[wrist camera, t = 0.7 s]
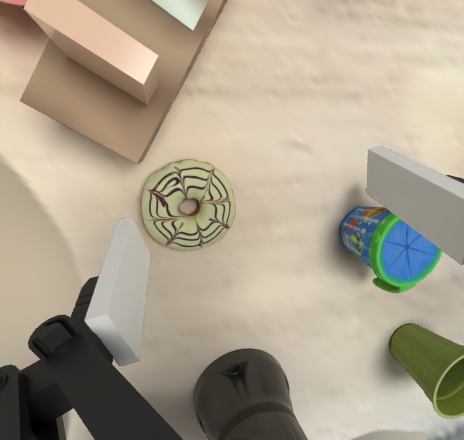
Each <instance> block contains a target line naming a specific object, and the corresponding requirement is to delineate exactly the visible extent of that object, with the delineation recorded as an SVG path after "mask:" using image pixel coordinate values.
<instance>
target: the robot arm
mask: <svg viewBox="0 0 464 440" xmlns="http://www.w3.org/2000/svg"><path fill="white" fill-rule="evenodd" d="M366 194H368V195H369V196H370V197H372V198H373V199H374V200H376V201H377V202H378V203H380V204H381V205H382V206H384V207H385V208H386V209H388V210H389V211H390V212H392V213H393V214H394V215H396V216H397V217H398V218H400V219H401V220H402V221H404V222H405V223H406V224H408V225H409V226H410V227H412V228H413V229H414V230H416V231H417V232H418V233H420V234H421V235H422V236H424V237H425V238H426V239H427V240H429V241H430V242H431V243H433V244H434V245H435V246H437V247H438V248H439V249H441V250H442V251H443V252H445V253H446V254H447V255H449V256H450V257H451V258H453V259H454V260H455V261H457V262H458V263H459V264H461V265H463V264H464V179H462V178H459V177H454V176H450V175H444V174H441V173H439V172H437V171H435V170H433V169H431V168H429V167H427V166H424V165H422V164H420V163H418V162H416V161H414V160H412V159H409V158H407V157H405V156H403V155H401V154H399V153H397V152H394V151H392V150H390V149H388V148H386V147H384V146H382V145H381V146H378V147H374V148H370V149H368V163H367V192H366ZM150 260H151V254H150V252H149V250H148V248H147V246H146V244H145V242H144V240H143V238H142V236H141V234H140V232H139V230H138V228H137V225H136V223H135V221H134V219H133V217H132V216H129V217H126V218H122V219H119V220H117V223H116V226H115V229H114V232H113V235H112V238H111V242H110V245H109V248H108V251H107V254H106V257H105V260H104V263H103V266H102V269H101V272H100V275H99V276H97V277H93V278H90V279H89V280H88V281H87V282H86V283H85V285H84V286H83V287H82V289H81V291H80V294H79V296H78V299H77V302H76V305H75V307H74V310H73V312H72V315H71V317H69V316H66V315H58V316H55V317H52V318H50V319H48V320H47V321H45V322H44V323H42V324H41V325H40V326H39V327H38V328H36V329H35V331H34V332H33V334H32V335H31V336H30V339H29V341H28V346H29V349H31V350H32V352H33V353H35V354H36V355H37V356H38V357H39V358H40V359H41V360H39V361H37V362H36V363H33V364H32V365H30V366H28V367H26V368H25V369H23V370H19V369H18V368H17V367H16V366H14V365H6V366H3V367H1V368H0V440H66V435H65V429H64V423H63V418H62V415H63V414H65V413H66V412H68V411H70V410H71V409H73V408H74V409H75V411H76V412H77V414H78V415H79V417H80V418H81V420H82V421H83V423H84V424H85V426H86V427H87V429H88V430H89V432H90V433H91V435H92V436H93V438H94V439H95V440H183V439H182V438H181V437H180V436H179V435H178V434H177V433H176V432H175V431H174V430H173V429H172V428H171V426H170V425H169V424H168V423H167V422H166V421H165V420H164V419H163V418H162V417H161V416H160V415H159V414H158V413H157V412H156V411H155V409H154V408H153V407H152V406H151V405H150V404H149V403H148V402H147V401H146V400H145V399H144V398H143V397H142V396H141V395H140V394H139V393H138V391H137V390H136V389H135V388H134V387H133V386H132V385H131V384H130V383H129V382H128V381H127V380H126V379H125V378H124V377H123V376H122V374H121V373H120V372H119V371H118V370H117V369H116V368H115V367H114V366H113V365H112V362H113V358H114V360H115V361H116V362H117V364H118V365H119V366H123V365H127V364H130V363H134V362H137V361H139V359H140V350H141V341H142V332H143V323H144V314H145V305H146V296H147V287H148V278H149V269H150ZM194 404H195V411H196V416H197V420H198V422H199V425H200V426H201V428H202V430H203V431H204V432H205V433H206V435H207V438H208V440H308V439H307V437H306V436H305V434H304V432H303V430H302V428H301V426H300V425H299V423H298V421H297V419H296V417H295V415H294V413H293V408H292V403H291V400H290V396H289V384H288V380H287V377H286V375H285V373H284V371H283V369H282V368H281V366H280V364H279V363H278V361H277V360H276V359H275V358H274V357H273V356H271V355H270V354H268V353H266V352H264V351H261V350H256V349H242V350H237V351H234V352H231V353H228V354H226V355H224V356H222V357H220V358H219V359H217V360H216V361H215V362H213V363H212V364H211V365H210V366H209V367H208V368H207V369H206V370H205V371H204V373H203V374H202V376H201V377H200V379H199V381H198V383H197V386H196V389H195V393H194Z"/></svg>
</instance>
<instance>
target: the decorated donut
mask: <svg viewBox="0 0 464 440" xmlns="http://www.w3.org/2000/svg"><path fill="white" fill-rule="evenodd" d="M191 198H194V199H196V200H197V201H198V209H197V210H196V212H194V213H192V214H191V215H187V214H184V213H182V212H181V211H180V209H179V206H180V204H181V203H182V202H183V201H184V199H191ZM141 200H142V205H141V206H142V208H141V209H142V216H143V220H144V223H145V226H146V228H147V230H148V232H149V233H150V234H151V236H152V237H154V238H155V240H157V241H158V242H159V243H160V244H162V245H164V246H167V247H170V248H172V249H177V250H198V249H202V248H204V247H207V246H210V245H212V244H214V243H216V242H217V241H219V240H220V239H222V238H223V237H224V235H225V234H226V232H227V231H228V229H229V228H230V227H231V225H232V223H233V220H234V218H235V210H236V203H235V199H234V194H233V190H232V188H231V184H230V182H229V181H228V179H227V177H226V176H225V175H224V174H223V173H222V172H221V171H220V170H218V169H217V168H216V167H214V166H213V165H211V164H210V163H207V162H200V161H196V160H192V159H185V160H181V161H179V162H175V163H174V162H172V163H170V164H168V165H167V166H166V167H165V168H163V169H160V170H159V171H156V172H154V173H153V174H152V175H151V176H150V177H149V178H148V179H147V181H146V183H145V186H144V191H143V194H142V199H141Z"/></svg>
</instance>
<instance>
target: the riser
mask: <svg viewBox="0 0 464 440" xmlns="http://www.w3.org/2000/svg"><path fill="white" fill-rule="evenodd" d="M78 1H79V2H81V3H82V4H84V5H85V6H87V7H88V8H90V9H91V10H92V11H94V12H95V13H97V14H98V15H100V16H101V17H103V18H104V19H106V20H107V21H109V22H110V23H112V24H113V25H114V26H116V27H117V28H119V29H120V30H122V31H123V32H125V33H126V34H128V35H129V36H131V37H132V38H134V39H135V40H137V41H138V42H139V43H141V44H142V45H144V46H145V47H147V48H148V49H150V50H151V51H153V52H154V53H156V54H157V55H158V86H157V88H156V90H155V92H154V93H153V95H152V97H151V99H150V101H149V103H148V105H146V104H144V103H142V102H141V101H139V100H138V99H136V98H134V97H133V96H131V95H129V94H128V93H126V92H124V91H123V90H121V89H120V88H118V87H116V86H115V85H113V84H111V83H110V82H108V81H107V80H105V79H103V78H102V77H100V76H98V75H97V74H95V73H93V72H92V71H90V70H89V69H87V68H85V67H84V66H82V65H80V64H79V63H77V62H76V61H74V60H72V59H71V58H69V57H67V56H66V55H65V54H64V53H63V52H62V50H61V49H60V48H59V47H58V46H57V45H56V44H55V43H54V42H53V40H52V39H51V38H50V40H49V42H48V44H47V46H46V48H45V50H44V52H43V54H42V56H41V58H40V60H39V62H38V64H37V66H36V68H35V71H34V73H33V75H32V77H31V79H30V81H29V83H28V85H27V87H26V89H25V91H24V93H23V95H22V97H21V99H20V101H21V102H23V103H24V104H26V105H28V106H30V107H32V108H34V109H36V110H37V111H39V112H41V113H43V114H45V115H47V116H49V117H51V118H52V119H54V120H56V121H58V122H60V123H62V124H64V125H65V126H67V127H69V128H71V129H73V130H75V131H77V132H78V133H80V134H82V135H84V136H86V137H88V138H90V139H92V140H93V141H95V142H97V143H99V144H101V145H103V146H105V147H106V148H108V149H110V150H112V151H114V152H116V153H118V154H119V155H121V156H123V157H125V158H127V159H129V160H131V161H133V162H134V163H136V164H138V163H140V162H142V161H143V159H144V157H145V155H146V153H147V151H148V149H149V148H150V146H151V144H152V142H153V140H154V138H155V136H156V134H157V132H158V130H159V129H160V127H161V125H162V123H163V121H164V119H165V117H166V115H167V113H168V111H169V110H170V108H171V106H172V104H173V102H174V100H175V98H176V96H177V94H178V93H179V91H180V89H181V87H182V85H183V83H184V81H185V79H186V77H187V75H188V74H189V72H190V70H191V68H192V66H193V64H194V62H195V60H196V58H197V56H198V55H199V53H200V51H201V49H202V47H203V45H204V43H205V41H206V39H207V37H208V36H209V34H210V32H211V30H212V28H213V26H214V24H215V22H216V20H217V19H218V17H219V15H220V13H221V11H222V9H223V7H224V5H225V3H226V1H227V0H78Z"/></svg>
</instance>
